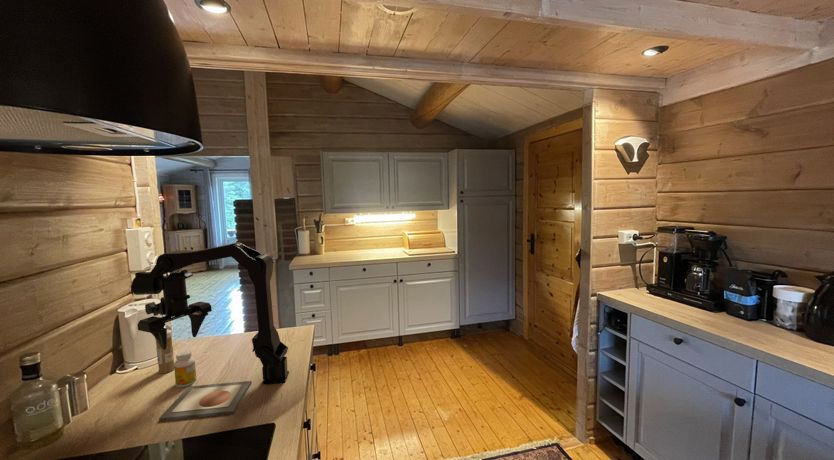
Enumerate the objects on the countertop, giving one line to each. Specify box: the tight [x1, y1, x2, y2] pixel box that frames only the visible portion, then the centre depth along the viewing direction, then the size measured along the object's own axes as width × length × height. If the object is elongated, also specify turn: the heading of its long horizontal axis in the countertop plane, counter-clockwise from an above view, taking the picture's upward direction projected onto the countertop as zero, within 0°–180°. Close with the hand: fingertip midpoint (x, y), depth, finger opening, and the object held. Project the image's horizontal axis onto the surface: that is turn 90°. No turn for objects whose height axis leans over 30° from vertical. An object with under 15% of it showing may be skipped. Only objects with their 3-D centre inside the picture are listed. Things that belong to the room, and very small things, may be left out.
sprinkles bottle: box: [154, 329, 175, 374], centre depth 113 cm, size 5×5×13 cm
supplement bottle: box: [173, 349, 197, 388], centre depth 106 cm, size 5×5×10 cm
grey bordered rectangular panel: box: [158, 380, 253, 422], centre depth 97 cm, size 18×15×1 cm
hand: (179, 342), depth 104 cm, fingers open, 9 cm apart
